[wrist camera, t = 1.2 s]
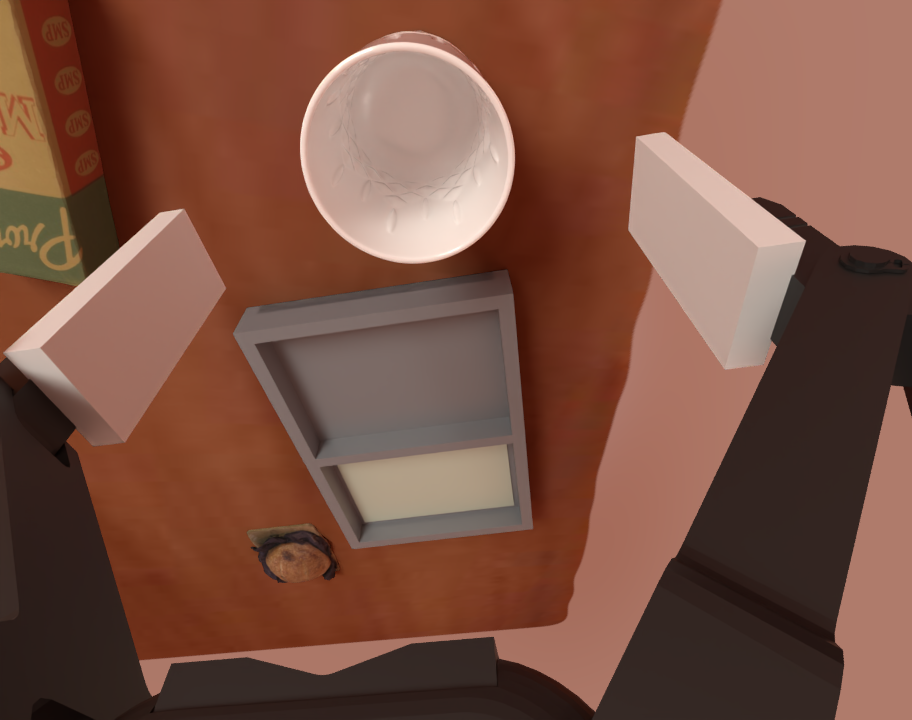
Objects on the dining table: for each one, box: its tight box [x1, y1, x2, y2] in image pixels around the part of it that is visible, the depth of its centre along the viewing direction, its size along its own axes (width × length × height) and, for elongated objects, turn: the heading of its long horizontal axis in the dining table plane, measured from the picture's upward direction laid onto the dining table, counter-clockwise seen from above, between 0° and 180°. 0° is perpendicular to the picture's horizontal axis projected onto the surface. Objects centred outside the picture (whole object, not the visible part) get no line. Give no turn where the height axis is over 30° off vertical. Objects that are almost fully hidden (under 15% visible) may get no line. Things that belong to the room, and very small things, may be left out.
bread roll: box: [247, 524, 340, 583], centre depth 53 cm, size 11×8×4 cm
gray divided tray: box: [233, 269, 533, 549], centre depth 40 cm, size 18×27×3 cm, turn 8°
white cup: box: [300, 30, 515, 264], centre depth 22 cm, size 8×8×10 cm
